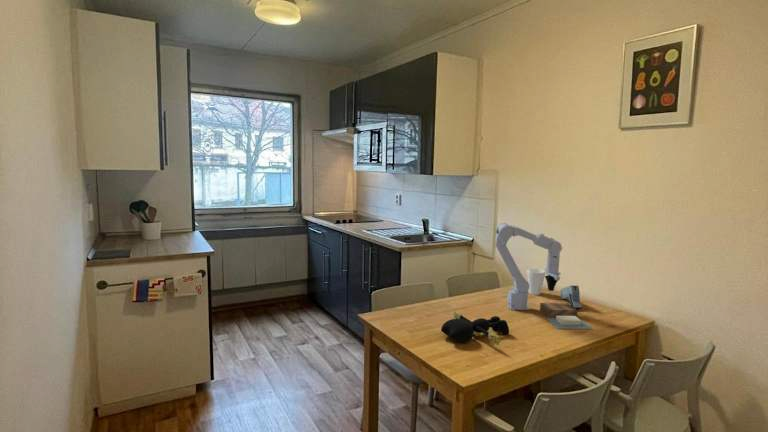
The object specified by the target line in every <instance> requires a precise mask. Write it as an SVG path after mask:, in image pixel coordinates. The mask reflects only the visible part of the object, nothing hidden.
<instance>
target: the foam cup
mask: <svg viewBox="0 0 768 432" xmlns="http://www.w3.org/2000/svg"><path fill="white" fill-rule="evenodd" d="M526 273H527V274H526V275H527V282H528V283H529V289H528V294H530V295H535V296H536V295H537V296H538V295H541V293H542V288H543V285H544V279H545V276H546V273H545V270H544V269H539V268H528V269H527V271H526Z"/></svg>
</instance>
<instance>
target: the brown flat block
mask: <svg viewBox="0 0 768 432" xmlns="http://www.w3.org/2000/svg"><path fill="white" fill-rule="evenodd" d="M539 305H540V308H539V311H540V312H541V313H542V314H543V315H544V316H545V318H556V316H576V317H577V318H578V310H579V309H575V308H574V307H572V306H571V304H570V303H566V302H564V303H563V302H558V303H557V302H540V304H539Z"/></svg>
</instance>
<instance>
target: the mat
mask: <svg viewBox="0 0 768 432" xmlns="http://www.w3.org/2000/svg"><path fill="white" fill-rule="evenodd" d="M578 318H579V319H580V320H581V325H561V324H560V323H559V322H558V321H557V320H556V318H547V317H545V319H546V320H547V321H548V322H550V323H551V324H552V325H553V327H555V328H556V329H557V330H593V329H594V328H593V327H591V326H590V325H589V324H588V323H586V322H585V321H584V320H583V319H581V318H580V317H578Z"/></svg>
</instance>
